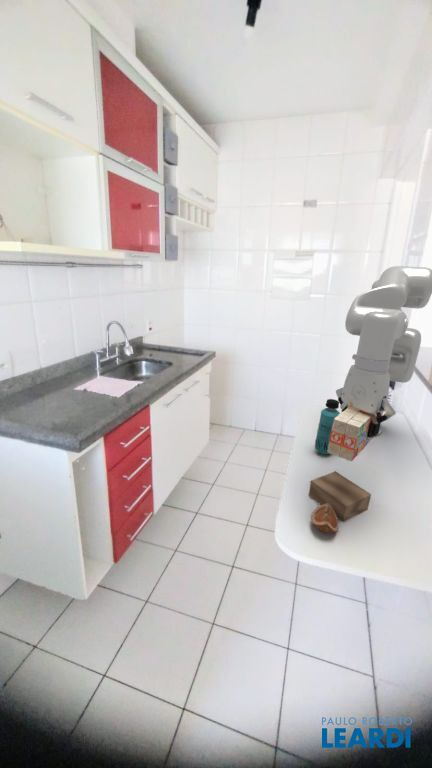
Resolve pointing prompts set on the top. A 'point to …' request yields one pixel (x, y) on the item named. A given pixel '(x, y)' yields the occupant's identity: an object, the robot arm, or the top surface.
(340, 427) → the stack of blocks
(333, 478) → the walnut base brick
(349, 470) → the top surface
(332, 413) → the beverage bottle
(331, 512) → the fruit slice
